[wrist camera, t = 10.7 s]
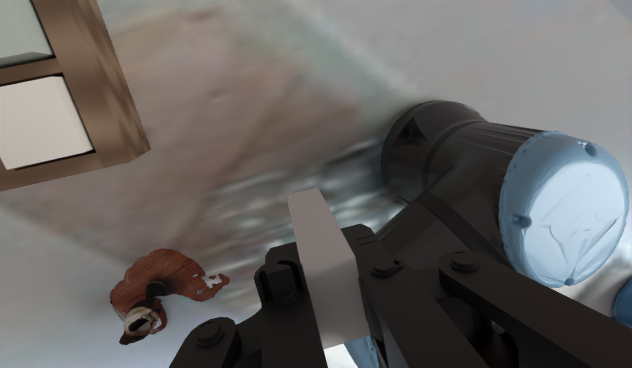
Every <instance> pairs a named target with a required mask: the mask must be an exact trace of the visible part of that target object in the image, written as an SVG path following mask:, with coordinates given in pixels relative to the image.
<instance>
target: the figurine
mask: <svg viewBox="0 0 632 368" xmlns="http://www.w3.org/2000/svg"><path fill="white" fill-rule="evenodd" d="M195 274H198V276H196V277H192V276H193V275H195ZM218 276H219V277H220V279H222V282H221V283H218V284H212V286H213V287H212V288H209V286H206V285H207V283H205V281H204V280H203V279H202V278H201V277H205V272H204V270H203V269H202V268H201V267H200V266H199V265H198V264H197V263H196V262H195V261H194V260H192V259H190V258H188V257H186V256H185V255H183V254H181V253H179V252H177V251H174V250H169V249H159V250H155V251H153V252H151V253H150V255H148V256H147V257H141V258H139V259H138V260H137V261H136V262H135V263H134V265H133V267H131V268H129V269H128V270H127V271H126V273H125V277H124V280H122V281H120V282H119V283H118V284H117V285H116V286H115V287H114V288H115V289H113V290H112V291H111V293H110V298H111V302H110V303H111V304H112V305H113V307H114V309H115V311H116V312H117V313H118V314H119V317H121V319H122V320H124V334H123V336H122V337H121V339H120V341H119V343H120V344H124V345H128V344H130V343H134V342H137V341H139V340H142V339H144V338H145V337H146V336H147V335H148V334H155V333H156V332H159V331H160V330H162V329H164V328H165V327H166V323H167V318H166V312H165V311H164V308H163V307H162V304H161V303H160V302H161V300H160V299H158V298H153V297H156V296H167V295H171V294H178V295H183V296H187V297H190V298H191V299H193V300H195V301H200V302H201V301H205V300H207V299H210V298H212V297H214V296H215V294H216V293H217V292H218V290H220V289H221V288H222V287H223V286H224V285H228V284H229V280H230V279H229V277H226V276H224V275H223V274H218ZM215 277H216V276H210V277H208V278H210V279H215ZM198 290H202V292H201V293H200V294H197V291H198ZM203 290H204V291H203ZM199 292H200V291H199ZM159 318H160V319H161V322H162V324H161V326H159V327H157V328H156V329H153V328H154V327H155V326H156V324H157V321H158V319H159Z"/></svg>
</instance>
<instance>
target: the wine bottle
mask: <svg viewBox="0 0 632 368" xmlns="http://www.w3.org/2000/svg"><path fill="white" fill-rule="evenodd" d="M613 312H614V316H615V321H617V322H619V323H621V324H623V325H625V326H627V327H629V328H631V329H632V279H631V280H630V281H629V282H628V283H627V284H626V285H625V286H624V288H623V289H622V290H621V291H620V292H619V293H618V296H617V299H616V301H615V304H614V307H613Z"/></svg>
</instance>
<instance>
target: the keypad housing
mask: <svg viewBox="0 0 632 368" xmlns="http://www.w3.org/2000/svg"><path fill="white" fill-rule="evenodd" d="M32 1H33V3H34V5H35V8H36V10H37V12H38V15H39V17H40V20H41V22H42V24H43V27H44V29H45V31H46V34H47V36H48V39H49V41H50V43H51V46H52V48H53V50H54V53H55V55H56V57H57V58H54V59H49V60H44V61H39V62H34V63H28V64H23V65H18V66H13V67H8V68H3V69H0V87H3V86H7V85H12V84H17V83H22V82H27V81H32V80H37V79H42V78H47V77H65V79H66V81H67V84H68V86H69V88H70V91H71V93H72V95H73V98H74V100H75V103H76V105H77V107H78V110H79V112H80V114H81V117H82V119H83V122H84V124H85V126H86V129H87V131H88V133H89V136H90V138H91V141H92V143H93V145H94V149H92V150H89V151H87V152H84V153H80V154H75V155H71V156H66V157H62V158H57V159H53V160H48V161H44V162H39V163H35V164H30V165H26V166H21V167H17V168H12V169H8V170H7V169H6V167H5V166H4V164H3V162H2V160H1V158H0V191H5V190H9V189H13V188H18V187H22V186H26V185H31V184H35V183H40V182H44V181H48V180H53V179H57V178H61V177H66V176H70V175H75V174H79V173H83V172H88V171H92V170H96V169H101V168H105V167H110V166H114V165H118V164H123V163H127V162H130V161H132V160H133V159H135V158H137V157H138V156H140V155H142V154H144V153H145V152H147V151H149V150H150V149H151V148H150V146H149V143H148V140H147V137H146V135H145V132H144V129H143V127H142V124H141V121H140V118H139V116H138V113H137V110H136V108H135V105H134V102H133V99H132V97H131V94H130V91H129V89H128V86H127V83H126V80H125V78H124V75H123V72H122V69H121V67H120V64H119V61H118V59H117V56H116V53H115V50H114V48H113V45H112V42H111V40H110V37H109V34H108V31H107V29H106V26H105V23H104V21H103V18H102V15H101V12H100V10H99V7H98V4H97V1H96V0H32Z"/></svg>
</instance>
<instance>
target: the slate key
mask: <svg viewBox="0 0 632 368" xmlns="http://www.w3.org/2000/svg"><path fill="white" fill-rule="evenodd" d="M54 58H57V57H56V55H55V53H54V50H53V48H52V46H51V43H50V41H49V39H48V36H47V34H46V31H45V29H44V27H43V24H42V22H41V20H40V17H39V15H38V12H37V10H36V8H35V5H34V3H33V1H32V0H0V69H3V68H8V67H13V66H18V65H23V64H28V63H34V62H39V61H44V60H49V59H54Z"/></svg>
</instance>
